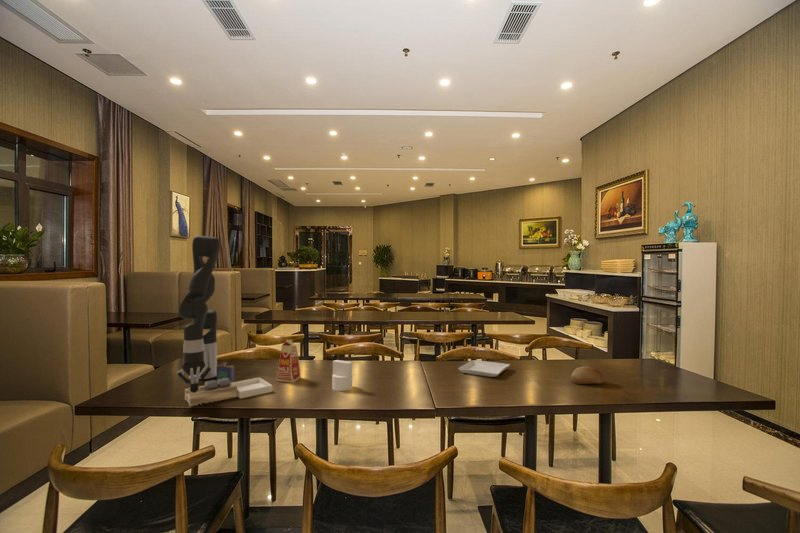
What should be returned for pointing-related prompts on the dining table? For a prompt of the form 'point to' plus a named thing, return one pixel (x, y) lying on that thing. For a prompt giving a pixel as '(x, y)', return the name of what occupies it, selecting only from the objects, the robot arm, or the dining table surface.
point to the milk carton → (288, 363)
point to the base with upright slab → (342, 375)
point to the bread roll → (587, 375)
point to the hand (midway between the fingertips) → (194, 392)
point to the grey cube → (211, 385)
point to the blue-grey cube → (223, 383)
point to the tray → (252, 387)
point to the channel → (209, 395)
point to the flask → (225, 372)
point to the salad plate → (483, 368)
